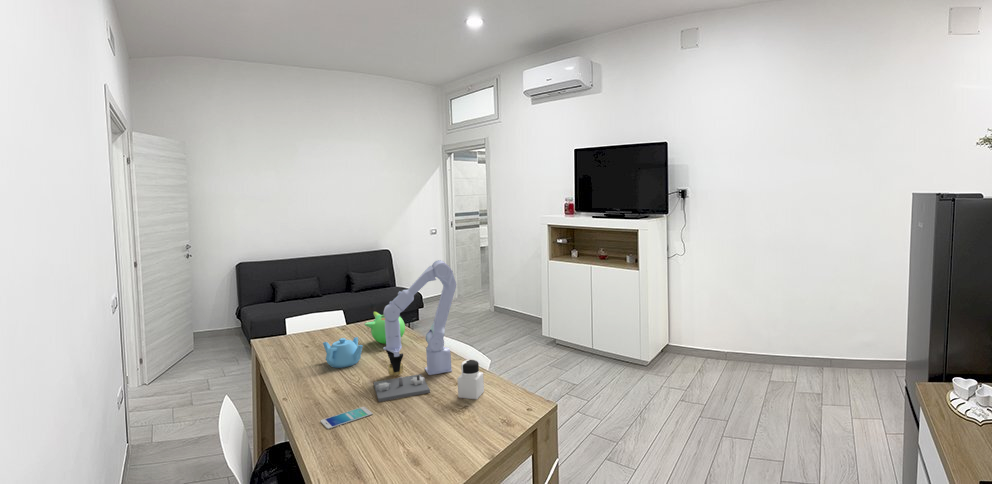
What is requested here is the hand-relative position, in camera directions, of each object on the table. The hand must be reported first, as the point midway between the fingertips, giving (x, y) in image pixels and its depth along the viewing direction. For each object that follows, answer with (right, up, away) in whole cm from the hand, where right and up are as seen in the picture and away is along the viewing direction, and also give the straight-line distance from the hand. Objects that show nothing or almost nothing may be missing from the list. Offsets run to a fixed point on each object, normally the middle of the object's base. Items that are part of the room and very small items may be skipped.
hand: (395, 369), depth 191 cm
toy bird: (-13, +1, +44) cm, 46 cm away
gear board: (+5, -4, -12) cm, 14 cm away
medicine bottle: (+31, -4, -20) cm, 37 cm away
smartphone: (-9, -8, -34) cm, 36 cm away
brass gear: (0, -1, 0) cm, 1 cm away
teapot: (-26, -2, +18) cm, 31 cm away
